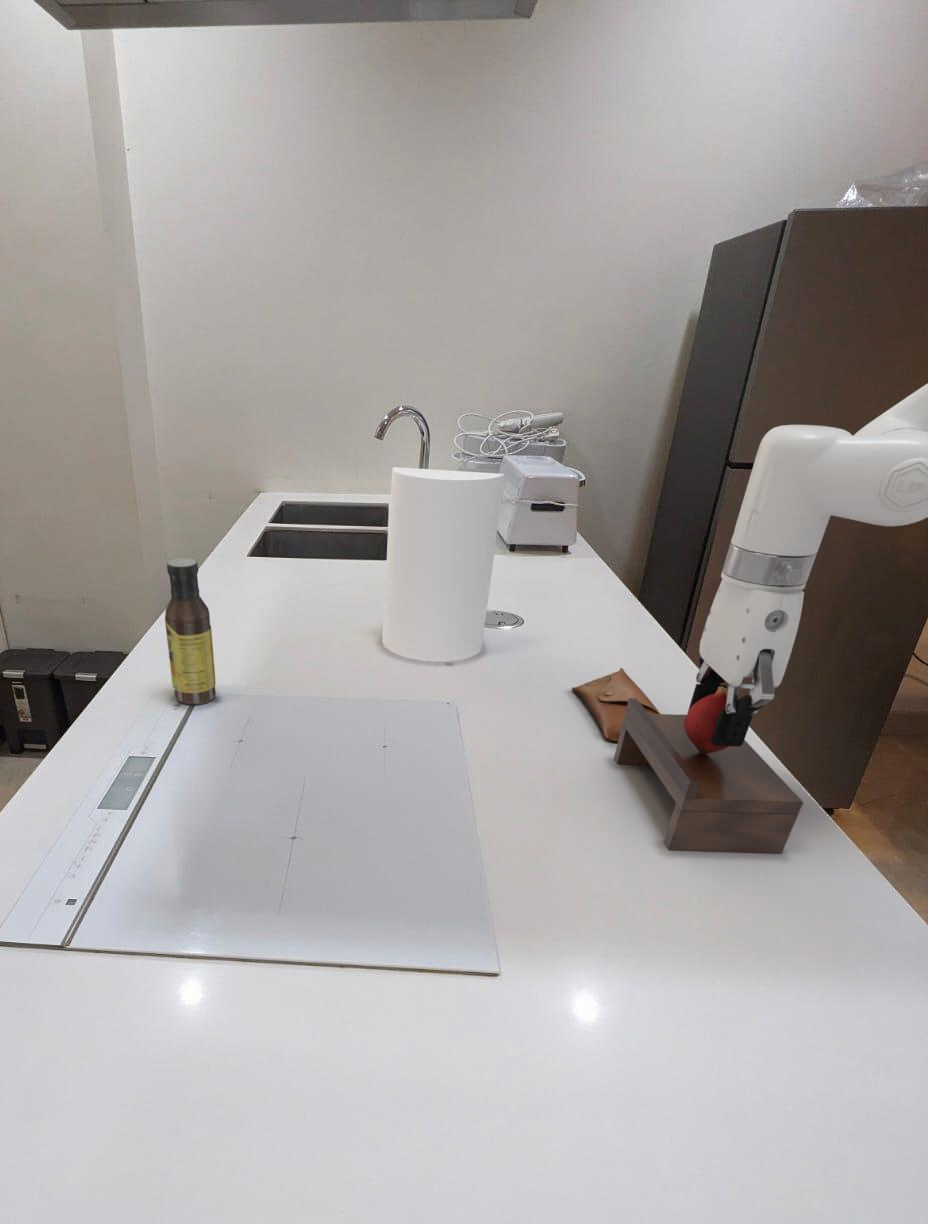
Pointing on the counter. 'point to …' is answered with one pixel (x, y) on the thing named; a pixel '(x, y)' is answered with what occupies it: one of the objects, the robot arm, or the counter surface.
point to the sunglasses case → (612, 701)
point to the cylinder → (439, 562)
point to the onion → (705, 720)
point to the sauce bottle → (189, 635)
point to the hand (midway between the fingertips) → (713, 729)
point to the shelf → (710, 787)
